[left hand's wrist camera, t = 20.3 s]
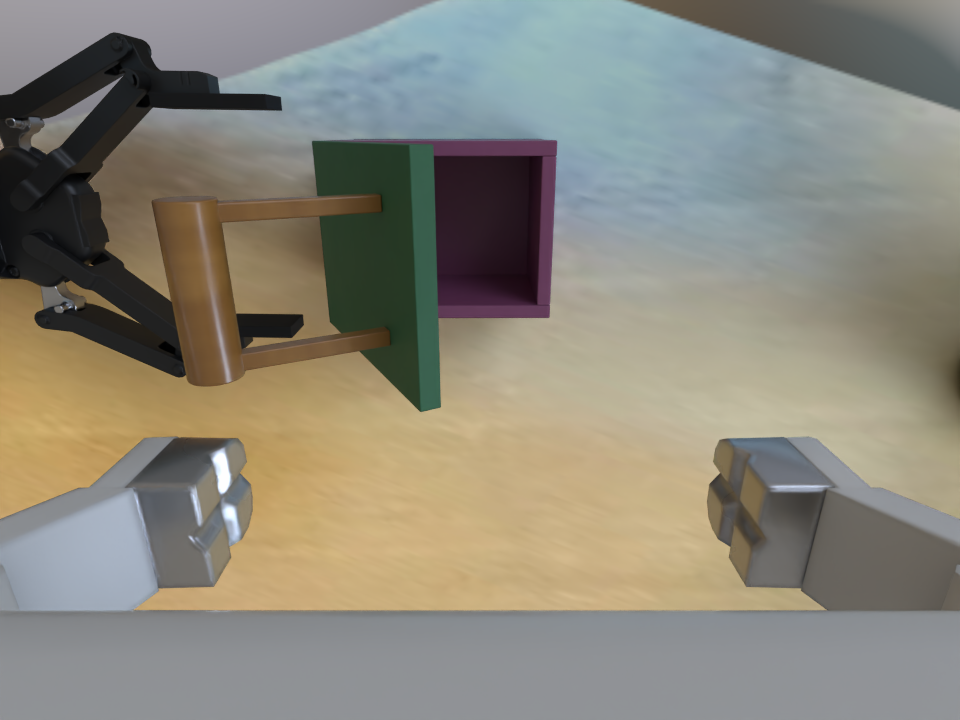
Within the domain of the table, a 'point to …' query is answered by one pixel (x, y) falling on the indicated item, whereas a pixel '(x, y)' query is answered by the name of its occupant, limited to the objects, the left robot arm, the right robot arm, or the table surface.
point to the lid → (348, 268)
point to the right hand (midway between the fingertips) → (287, 221)
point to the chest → (492, 225)
